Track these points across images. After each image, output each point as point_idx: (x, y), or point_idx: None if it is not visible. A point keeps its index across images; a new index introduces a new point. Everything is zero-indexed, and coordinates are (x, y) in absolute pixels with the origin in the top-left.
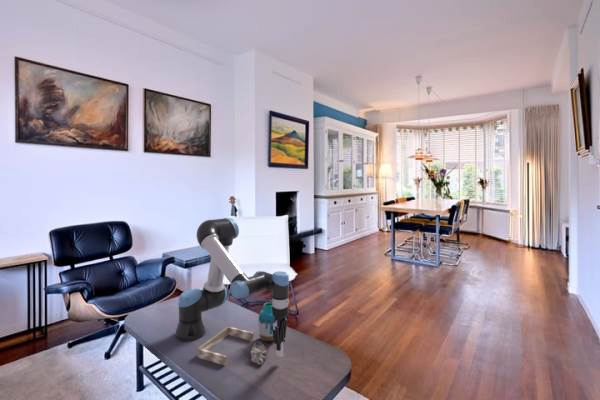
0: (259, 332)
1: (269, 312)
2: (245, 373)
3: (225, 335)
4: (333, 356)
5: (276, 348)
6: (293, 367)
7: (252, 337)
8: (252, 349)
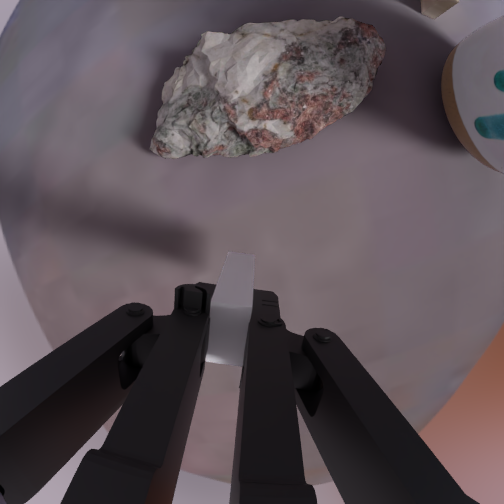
0: (468, 36)
1: None
2: (84, 101)
3: None
4: None
5: (221, 273)
6: None
7: (434, 7)
8: (243, 32)
